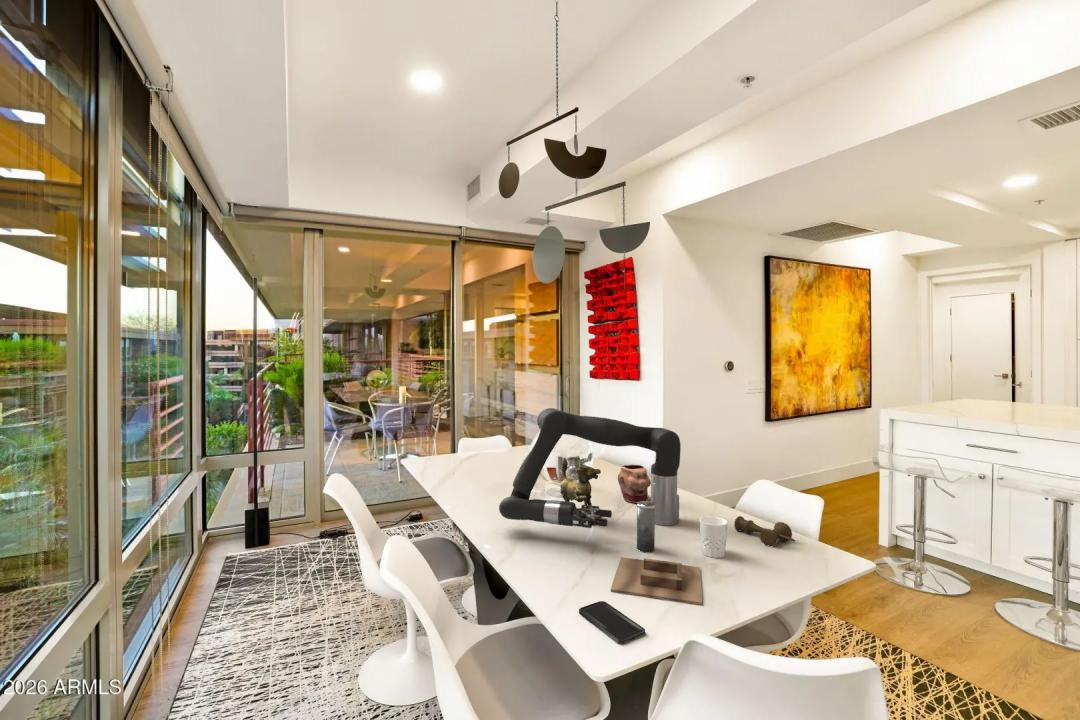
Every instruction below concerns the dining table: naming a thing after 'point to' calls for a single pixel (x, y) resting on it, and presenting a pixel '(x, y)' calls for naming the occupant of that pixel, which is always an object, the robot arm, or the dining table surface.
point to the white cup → (713, 536)
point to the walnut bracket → (658, 580)
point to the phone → (612, 622)
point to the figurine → (578, 484)
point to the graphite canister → (646, 526)
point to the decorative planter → (634, 483)
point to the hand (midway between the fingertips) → (609, 518)
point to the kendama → (765, 531)
